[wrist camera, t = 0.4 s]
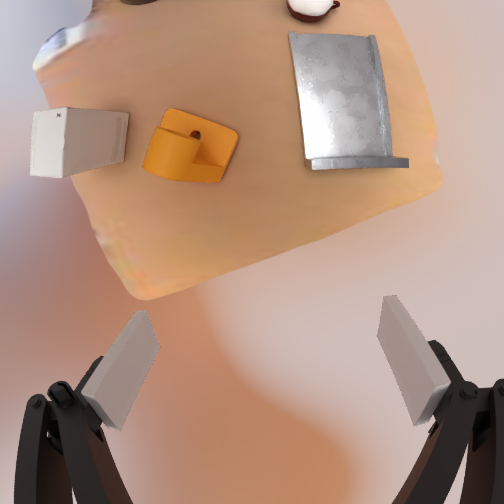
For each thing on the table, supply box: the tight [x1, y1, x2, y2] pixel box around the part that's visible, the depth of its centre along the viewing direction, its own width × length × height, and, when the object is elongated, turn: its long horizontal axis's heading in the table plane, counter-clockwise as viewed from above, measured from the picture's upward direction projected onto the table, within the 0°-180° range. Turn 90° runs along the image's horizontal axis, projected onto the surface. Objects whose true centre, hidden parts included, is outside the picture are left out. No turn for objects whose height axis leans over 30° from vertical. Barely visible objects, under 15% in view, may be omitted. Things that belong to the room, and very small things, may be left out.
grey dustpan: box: [288, 31, 409, 170], centre depth 29 cm, size 20×13×7 cm, turn 7°
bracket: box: [142, 108, 239, 183], centre depth 31 cm, size 11×7×12 cm, turn 66°
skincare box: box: [30, 107, 129, 178], centre depth 29 cm, size 8×7×16 cm
